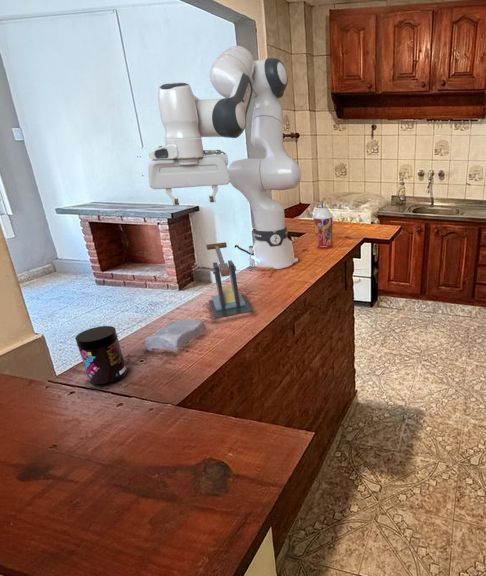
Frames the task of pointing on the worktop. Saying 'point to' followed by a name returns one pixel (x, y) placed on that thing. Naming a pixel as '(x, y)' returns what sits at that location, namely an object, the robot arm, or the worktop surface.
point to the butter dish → (229, 305)
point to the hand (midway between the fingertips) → (194, 203)
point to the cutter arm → (220, 257)
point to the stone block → (174, 334)
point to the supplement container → (101, 355)
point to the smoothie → (323, 227)
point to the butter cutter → (224, 311)
